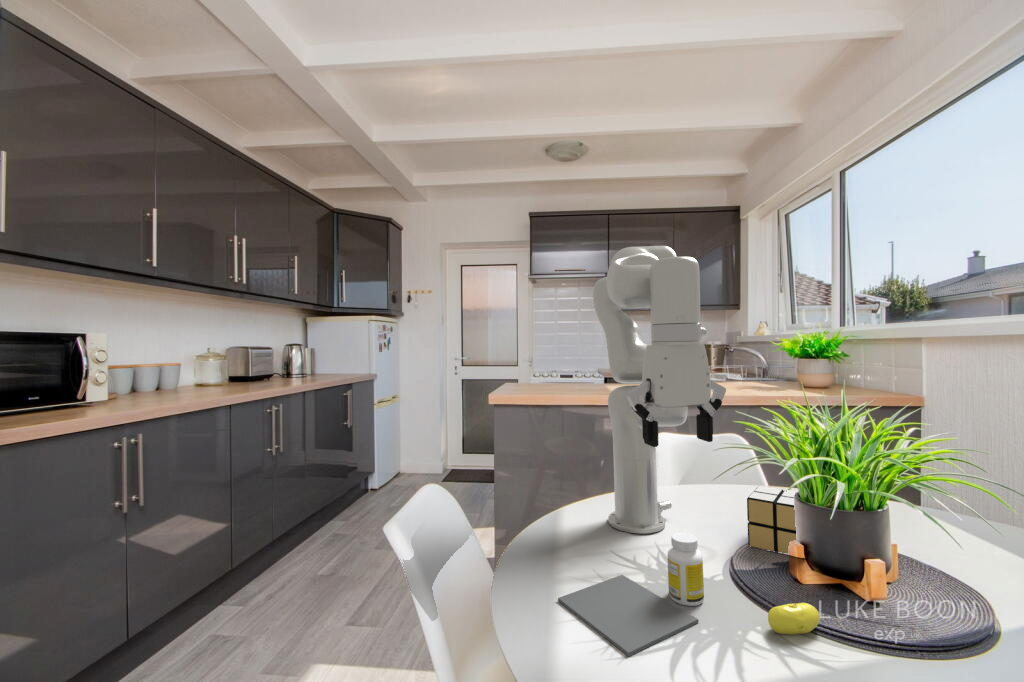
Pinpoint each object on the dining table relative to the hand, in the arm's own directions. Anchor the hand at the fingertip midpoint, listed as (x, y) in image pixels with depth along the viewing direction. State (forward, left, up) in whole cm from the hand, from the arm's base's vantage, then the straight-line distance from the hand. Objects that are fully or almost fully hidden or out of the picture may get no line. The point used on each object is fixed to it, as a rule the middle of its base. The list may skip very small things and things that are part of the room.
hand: (678, 442), depth 75 cm
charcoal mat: (+9, -3, -26) cm, 27 cm away
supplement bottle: (-2, -1, -26) cm, 26 cm away
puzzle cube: (-34, -4, -26) cm, 43 cm away
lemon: (-8, +13, -26) cm, 30 cm away
